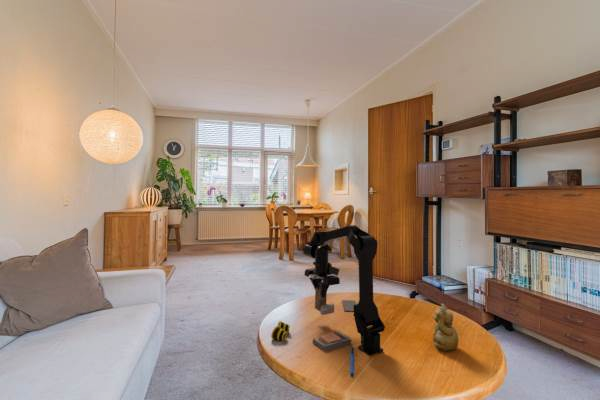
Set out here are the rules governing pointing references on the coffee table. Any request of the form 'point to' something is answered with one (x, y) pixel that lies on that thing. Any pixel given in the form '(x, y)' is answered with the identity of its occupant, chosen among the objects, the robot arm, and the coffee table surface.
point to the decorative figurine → (444, 330)
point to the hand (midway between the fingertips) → (321, 296)
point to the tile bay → (324, 347)
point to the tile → (329, 338)
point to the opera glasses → (280, 331)
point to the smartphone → (348, 305)
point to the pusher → (322, 303)
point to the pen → (352, 363)
